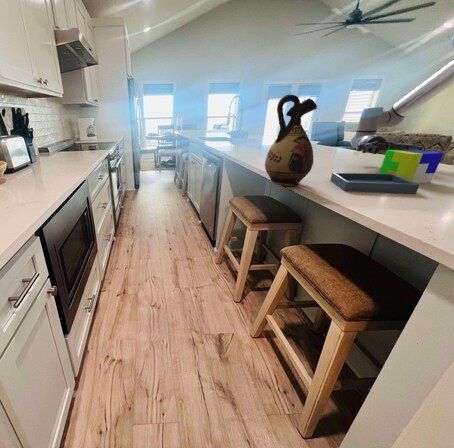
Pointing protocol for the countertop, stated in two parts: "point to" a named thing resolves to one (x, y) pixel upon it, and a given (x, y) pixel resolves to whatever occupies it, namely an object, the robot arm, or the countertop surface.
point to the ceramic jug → (290, 145)
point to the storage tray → (374, 183)
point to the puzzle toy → (411, 164)
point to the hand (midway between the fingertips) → (397, 150)
